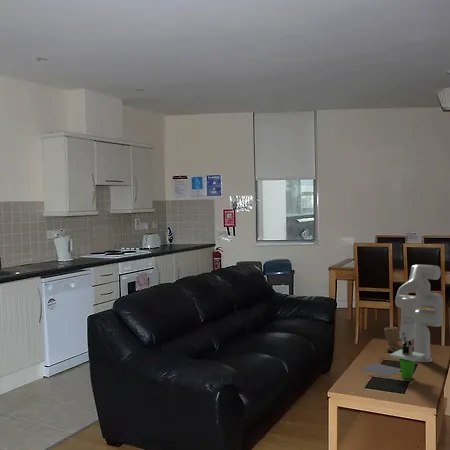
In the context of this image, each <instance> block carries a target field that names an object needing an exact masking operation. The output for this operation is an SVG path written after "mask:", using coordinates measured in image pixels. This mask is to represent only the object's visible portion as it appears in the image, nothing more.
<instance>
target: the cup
mask: <svg viewBox="0 0 450 450" xmlns="http://www.w3.org/2000/svg"><path fill="white" fill-rule="evenodd" d="M398 359H399V363H400V364H399V367H400V369H401V371H400V372H401V377H402V378H403V379H405V380H411V379H413V374H414V371H415V370H414V369H415V364H416V361H410V360H405V359H400V358H398Z"/></svg>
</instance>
